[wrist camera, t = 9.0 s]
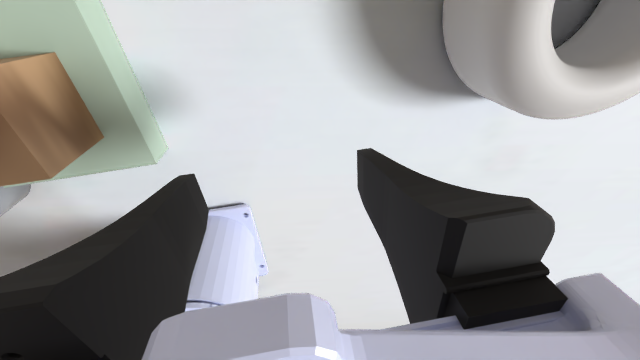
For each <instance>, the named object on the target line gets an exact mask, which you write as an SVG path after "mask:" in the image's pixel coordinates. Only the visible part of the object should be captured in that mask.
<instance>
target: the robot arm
mask: <svg viewBox="0 0 640 360" xmlns="http://www.w3.org/2000/svg"><path fill="white" fill-rule="evenodd" d="M357 173H358V190H359V193H360V196H361V199H362V202H363V205H364V207H365V209H366V211H367V213H368V215H369V217H370V219H371V221H372V223H373V225H374V227H375V229H376V231H377V233H378V235H379V237H380V239H381V241H382V243H383V246H384V248H385V250H386V253H387V256H388V259H389V261H390V264H391V267H392V269H393V272H394V275H395V278H396V281H397V284H398V287H399V290H400V293H401V296H402V299H403V302H404V305H405V308H406V312H407V315H408V318H409V321H410V324H408V325H402V326H397V327H392V328H387V329H382V330H361V329H338V326H337V321H336V316H335V312H334V310H333V309H332V307H331V305H330V304H329V302H328V301H327V300H324V299H322V298H319V297H317V296H314V295H312V294H309V293H287V294H281V295H276V296H270V297H264V298H259V299H258V284H259V276H263V275H266V274H268V267H267V263H266V260H265V256H264V253H263V249H262V246H261V243H260V239H259V236H258V232H257V229H256V225H255V222H254V219H253V215H252V212H251V208H250V206H249V205H246V204H242V205H236V206H229V207H223V208H216V209H210V210H209V209H208V207H207V204H206V202H205V199H204V197H203V194H202V192H201V190H200V187H199V185H198V182H197V180H196V177H195V175H194V174H188V175H181V176H178V177H176V178H175V179H173V180H172V181H171V182H169V183H168V184H166V185H165V186H164V187H162V188H161V189H160V190H159V191H157V192H156V193H155V194H153V195H152V196H151V197H149V198H148V199H147V200H145V201H144V202H143V203H141V204H140V205H138V206H137V207H136V208H134V209H133V210H131V211H130V212H129V213H127V214H126V215H124V216H123V217H121V218H120V219H118V220H117V221H115V222H114V223H112V224H110V225H109V226H107V227H105V228H104V229H102V230H100V231H99V232H97V233H95V234H93V235H92V236H90V237H88V238H86V239H84V240H82V241H80V242H78V243H76V244H74V245H72V246H71V247H69V248H67V249H65V250H63V251H61V252H59V253H56V254H54V255H52V256H50V257H48V258H46V259H43V260H41V261H39V262H36V263H34V264H32V265H30V266H27V267H25V268H23V269H20V270H18V271H15V272H13V273H10V274H7V275H5V276H2V277H0V360H640V305H639V304H638V303H637V302H635V301H634V300H633V299H632V298H630V297H629V296H628V295H627V294H626V293H624V292H623V291H622V290H621V289H620V288H618V287H617V286H616V285H615V284H613V283H612V282H611V281H610V280H609V279H607V278H606V277H605V276H604V275H603V274H601V273H595V274H589V275H584V276H579V277H573V278H568V279H565V280H562V281H560V282H559V283H557V284H556V285H555V284H554V283H553V282H552V281H551V280H550V279H549V278H548V277H547V276H546V275H548V274H549V273H550V272H549V269H548V268H547V267H546V266H545V265H544V264H543V263H542V262H541V259H542V257H543V255H544V253H545V251H546V250H547V248H548V246H549V244H550V242H551V240H552V237H553V235H554V232H555V222H554V220H553V218H552V216H551V215H549V214H548V213H547V212H546V211H544V210H543V209H542V208H540V207H539V206H538V205H537V204H535V203H534V202H533V201H531V200H530V199H529V198H523V197H514V196H506V195H498V194H492V193H486V192H481V191H475V190H471V189H466V188H462V187H459V186H455V185H451V184H448V183H444V182H441V181H438V180H435V179H433V178H430V177H427V176H424V175H422V174H420V173H417V172H415V171H413V170H411V169H409V168H407V167H405V166H403V165H401V164H399V163H397V162H395V161H393V160H391V159H390V158H388V157H386V156H384V155H382V154H381V153H379V152H377V151H375V150H373V149H371V148H369V149H362V150H357ZM244 213H247V214H248V215H245V214H244Z"/></svg>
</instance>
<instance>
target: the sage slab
mask: <svg viewBox="0 0 640 360" xmlns="http://www.w3.org/2000/svg"><path fill="white" fill-rule="evenodd" d="M52 52H55V53H56V55H57V57H58V58H59V60H60V62H61V63H62V65H63V67H64V69H65V70H66V72H67V74H68V75H69V77H70V79H71V81H72V82H73V84H74V86H75V88H76V89H77V91H78V93H79V94H80V96H81V98H82V100H83V101H84V103H85V105H86V107H87V108H88V110H89V112H90V113H91V115H92V117H93V119H94V120H95V122H96V124H97V125H98V127H99V129H100V131H101V132H102V134H103V136H104V138H103V139H102V140H100V141H99V142H98V143H96V144H95V145H94V146H93V147H91V148H90V149H89V150H87V151H86V152H85V153H84V154H82V155H81V156H80V157H78V158H77V159H76V160H75V161H73V162H72V163H71V164H69V165H68V166H67V167H66V168H64V169H63V170H62V171H60V172H59V173H58V174H57V175H55V176H54V177H53V178H51V179H47V180H40V181H34V182H27V183H20V184H14V185H7V186H3V187H4V188H6V187H13V186H19V185H25V184H32V183H38V182H45V181H51V180H57V179H64V178H70V177H76V176H83V175H89V174H96V173H102V172H108V171H115V170H121V169H127V168H134V167H140V166H147V165H153V164H157V163H158V161H159V160H160V159H161V157H162V156H163V155H164V153H165V152H166V151H167V149H168V146H167V144H166V142H165V139H164V137H163V135H162V133H161V131H160V129H159V126H158V124H157V122H156V120H155V118H154V116H153V113H152V111H151V109H150V107H149V105H148V102H147V100H146V98H145V96H144V94H143V92H142V89H141V87H140V85H139V83H138V81H137V79H136V76H135V74H134V72H133V70H132V68H131V65H130V63H129V61H128V59H127V57H126V55H125V52H124V50H123V48H122V46H121V44H120V42H119V39H118V37H117V35H116V33H115V31H114V29H113V26H112V24H111V22H110V20H109V18H108V15H107V13H106V11H105V9H104V7H103V5H102V2H101V0H0V59H3V58H11V57H20V56H28V55H36V54H44V53H52Z"/></svg>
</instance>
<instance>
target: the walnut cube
mask: <svg viewBox="0 0 640 360" xmlns="http://www.w3.org/2000/svg"><path fill="white" fill-rule="evenodd" d="M103 138H104V136H103V134H102V132H101V131H100V129H99V127H98V125H97V124H96V122H95V120H94V119H93V117H92V115H91V113H90V112H89V110H88V108H87V107H86V105H85V103H84V101H83V100H82V98H81V96H80V94H79V93H78V91H77V89H76V88H75V86H74V84H73V82H72V81H71V79H70V77H69V75H68V74H67V72H66V70H65V69H64V67H63V65H62V63H61V62H60V60H59V58H58V57H57V55H56V53H55V52H52V53H44V54H36V55H28V56H20V57H11V58H3V59H0V187H1V186H7V185H14V184H20V183H27V182H34V181H40V180H47V179H51V178H53V177H54V176H55V175H57V174H58V173H59V172H60V171H62V170H63V169H64V168H66V167H67V166H68V165H69V164H71V163H72V162H73V161H75V160H76V159H77V158H78V157H80V156H81V155H82V154H84V153H85V152H86V151H87V150H89V149H90V148H91V147H93V146H94V145H95V144H96V143H98V142H99V141H100V140H102V139H103Z"/></svg>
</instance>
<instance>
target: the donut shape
mask: <svg viewBox="0 0 640 360" xmlns="http://www.w3.org/2000/svg"><path fill="white" fill-rule="evenodd" d="M554 3H555V0H444V2H443V36H444V42H445V47H446V51H447V54H448V57H449V60H450V62H451V65H452V67H453V69H454V70H455V72H456V74H457V75H458V76H459V78H460V79H461V80H462V81H463V83H464V84H465V85H466V86H467V87H469V88H470V89H471V90H472V91H474V92H475V93H477V94H479V95H480V96H482V97H485V98H487V99H489V100H491V101H493V102H496V103H498V104H500V105H502V106H505V107H507V108H509V109H511V110H514V111H516V112H518V113H521V114H523V115H526V116H530V117H534V118H541V119H568V118H575V117H581V116H585V115H589V114H592V113H596V112H599V111H602V110H605V109H607V108H610V107H612V106H615V105H617V104H619V103H621V102H623V101H625V100H627V99H629V98H631V97H633V96H635V95H637V94H639V93H640V0H601V1H600V2H599V4H598V6H597V7H596V9H595V10H594V12H593V13H592V15H591V16H590V17H589V18H588V20H587V21H586V22H585V23H584V25H583V26H582V27H581V28H580V29H579V30H578V31H577V32H576V33H575V34H574V35H573V36H572V37H571V38H570V39H568V40H567V41H566V42H565V43H563V44H562V45H561V46H559V47H558V48H556V49H554V47H553V43H552V36H551V21H552V13H553V7H554Z"/></svg>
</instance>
